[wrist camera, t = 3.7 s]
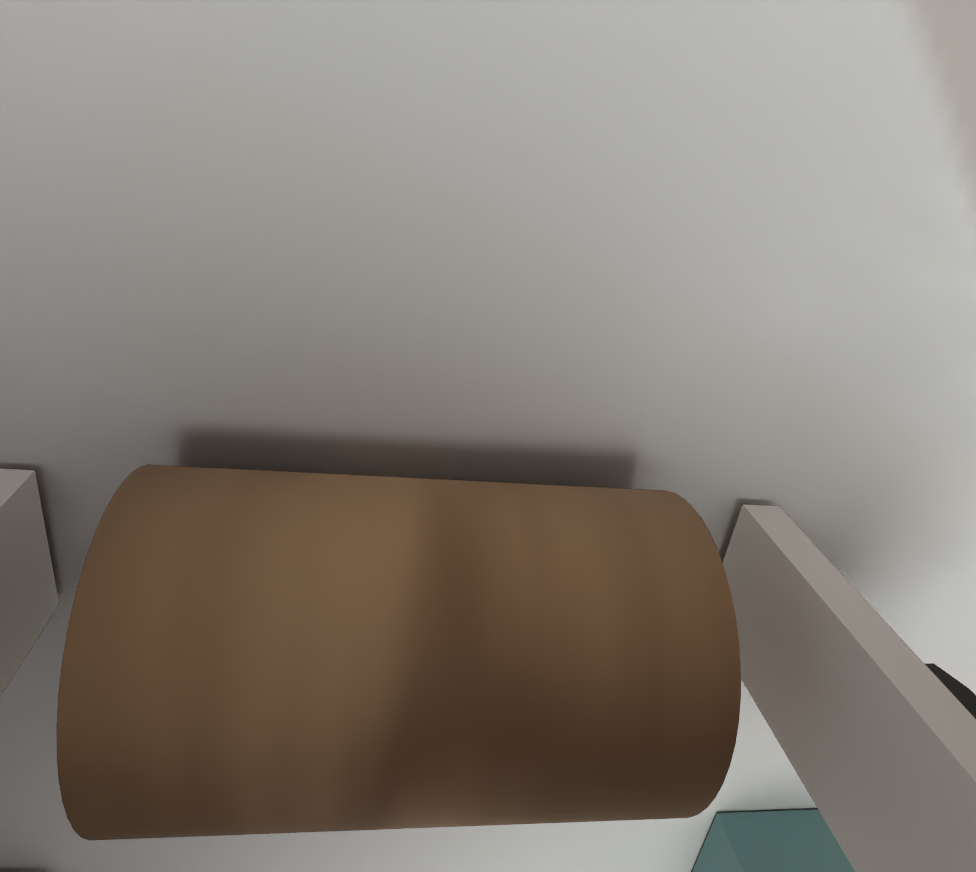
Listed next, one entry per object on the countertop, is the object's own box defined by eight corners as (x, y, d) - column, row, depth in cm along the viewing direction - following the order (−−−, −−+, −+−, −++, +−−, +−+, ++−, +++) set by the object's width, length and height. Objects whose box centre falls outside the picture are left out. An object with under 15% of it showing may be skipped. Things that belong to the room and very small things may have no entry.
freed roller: (589, 643, 15) (674, 891, 10) (190, 639, 13) (91, 925, 9) (645, 437, 12) (786, 643, 8) (170, 406, 11) (22, 635, 7)
